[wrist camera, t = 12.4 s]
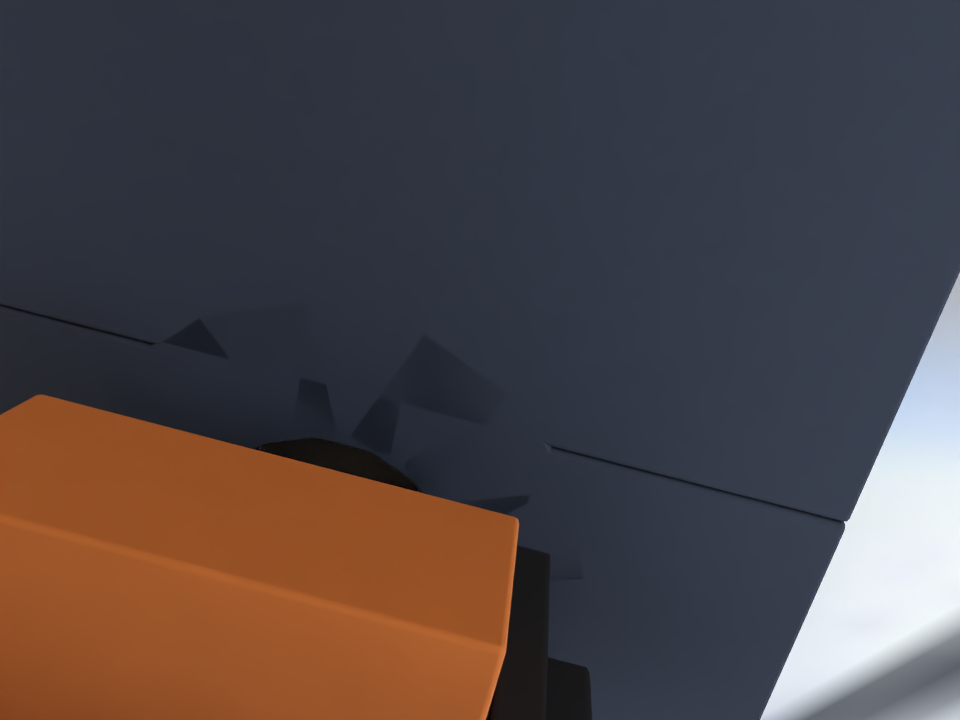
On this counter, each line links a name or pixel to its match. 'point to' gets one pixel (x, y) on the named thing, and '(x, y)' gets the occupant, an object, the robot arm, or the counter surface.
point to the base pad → (510, 273)
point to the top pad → (234, 581)
